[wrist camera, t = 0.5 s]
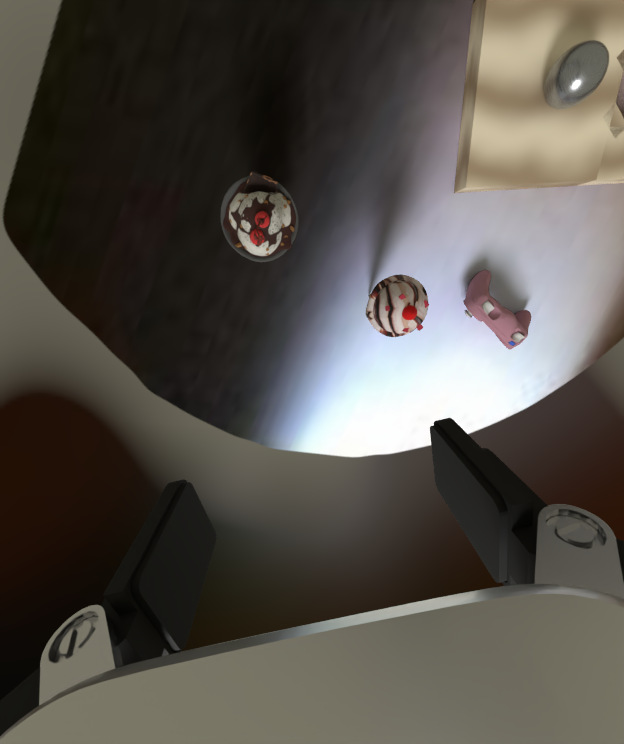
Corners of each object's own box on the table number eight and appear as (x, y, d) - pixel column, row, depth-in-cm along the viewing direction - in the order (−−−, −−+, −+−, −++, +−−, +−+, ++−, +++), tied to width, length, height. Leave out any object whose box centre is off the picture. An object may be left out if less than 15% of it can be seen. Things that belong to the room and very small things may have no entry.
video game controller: (452, 289, 39) (459, 315, 34) (483, 263, 36) (496, 288, 31) (497, 331, 42) (510, 362, 37) (530, 311, 39) (549, 341, 34)
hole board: (472, 4, 28) (488, -20, 26) (707, -6, 29) (744, -30, 26) (454, 192, 34) (465, 187, 31) (650, 181, 34) (676, 175, 32)
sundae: (272, 274, 36) (257, 281, 22) (229, 232, 34) (183, 210, 20) (309, 232, 35) (318, 211, 20) (267, 186, 33) (245, 128, 19)
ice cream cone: (338, 293, 37) (364, 310, 23) (373, 261, 36) (422, 260, 22) (365, 325, 39) (404, 360, 25) (399, 296, 38) (460, 315, 24)
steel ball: (537, 62, 28) (579, 26, 24) (582, 60, 28) (632, 24, 24) (527, 119, 30) (566, 95, 25) (570, 117, 30) (615, 93, 26)
